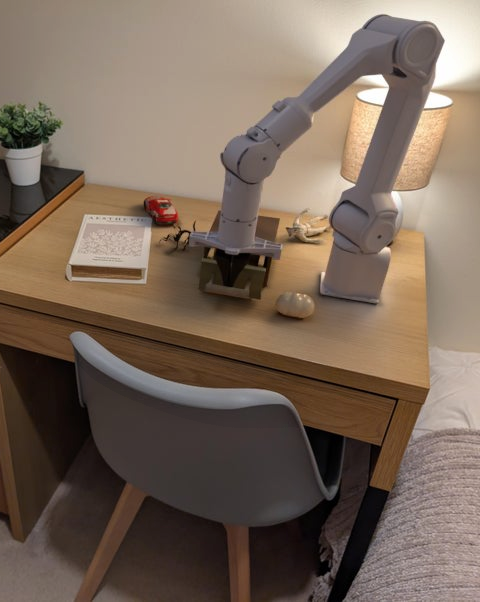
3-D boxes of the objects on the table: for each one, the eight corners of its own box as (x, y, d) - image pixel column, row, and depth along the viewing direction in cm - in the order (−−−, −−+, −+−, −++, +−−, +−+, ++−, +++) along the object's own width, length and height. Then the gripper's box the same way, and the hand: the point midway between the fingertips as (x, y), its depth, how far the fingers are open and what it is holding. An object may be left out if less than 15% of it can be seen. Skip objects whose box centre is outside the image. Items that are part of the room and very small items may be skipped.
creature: (158, 258, 114) (198, 254, 112) (154, 235, 112) (194, 229, 109) (161, 241, 121) (199, 236, 119) (157, 218, 118) (195, 213, 116)
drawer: (256, 315, 94) (262, 285, 90) (192, 303, 97) (195, 274, 94) (267, 264, 108) (272, 237, 105) (211, 255, 111) (214, 229, 108)
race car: (141, 205, 135) (141, 189, 133) (163, 203, 135) (164, 187, 133) (156, 228, 124) (157, 211, 122) (180, 226, 124) (181, 209, 122)
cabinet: (266, 286, 103) (273, 250, 99) (201, 275, 106) (205, 240, 102) (273, 251, 114) (280, 218, 110) (214, 243, 118) (218, 210, 114)
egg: (312, 311, 96) (317, 291, 93) (311, 324, 92) (316, 304, 90) (275, 305, 97) (279, 285, 95) (273, 317, 94) (277, 297, 92)
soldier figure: (338, 239, 120) (314, 240, 112) (317, 249, 123) (292, 250, 115) (324, 207, 122) (299, 205, 113) (304, 217, 125) (278, 216, 117)
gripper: (187, 218, 88) (180, 292, 95) (285, 231, 83) (270, 308, 90) (196, 201, 93) (189, 272, 101) (288, 213, 89) (274, 287, 96)
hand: (228, 288), depth 96 cm, fingers closed, pressing on drawer
